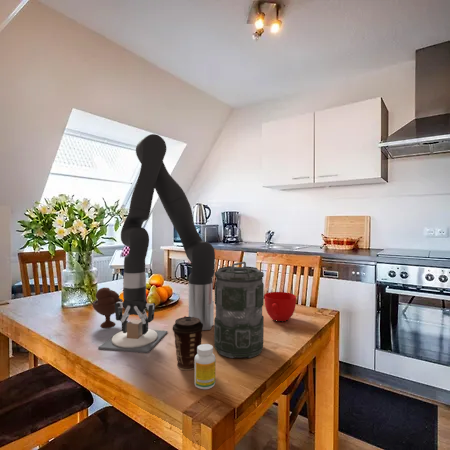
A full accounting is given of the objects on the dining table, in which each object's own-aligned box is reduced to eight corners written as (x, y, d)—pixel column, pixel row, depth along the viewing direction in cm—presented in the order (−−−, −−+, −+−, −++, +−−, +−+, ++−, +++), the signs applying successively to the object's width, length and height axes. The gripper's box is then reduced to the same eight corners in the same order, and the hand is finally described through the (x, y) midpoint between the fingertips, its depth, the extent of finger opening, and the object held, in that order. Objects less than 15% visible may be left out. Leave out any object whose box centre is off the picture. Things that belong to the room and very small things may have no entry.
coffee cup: (189, 355, 93) (189, 313, 93) (209, 363, 88) (209, 319, 88) (167, 365, 86) (167, 320, 86) (187, 375, 81) (187, 327, 81)
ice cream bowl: (113, 331, 112) (112, 291, 112) (86, 329, 114) (86, 289, 114) (127, 321, 123) (127, 284, 122) (103, 319, 125) (102, 283, 124)
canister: (231, 335, 109) (232, 257, 108) (271, 346, 100) (272, 261, 99) (204, 351, 96) (204, 263, 95) (247, 365, 87) (247, 268, 86)
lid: (163, 331, 110) (163, 316, 110) (146, 349, 96) (146, 331, 95) (125, 329, 113) (125, 313, 113) (102, 345, 98) (102, 328, 98)
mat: (167, 332, 111) (167, 330, 111) (148, 353, 94) (148, 351, 94) (124, 329, 114) (124, 327, 114) (98, 348, 97) (98, 347, 97)
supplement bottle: (191, 381, 78) (191, 344, 78) (210, 376, 81) (210, 341, 80) (198, 392, 74) (199, 353, 73) (218, 386, 76) (219, 349, 76)
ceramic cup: (256, 325, 119) (257, 299, 119) (269, 312, 135) (269, 290, 134) (289, 330, 114) (289, 304, 114) (298, 317, 129) (299, 293, 129)
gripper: (158, 283, 106) (158, 330, 107) (120, 281, 109) (121, 327, 109) (150, 288, 99) (150, 338, 99) (109, 286, 101) (109, 335, 102)
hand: (134, 332), depth 104 cm, fingers open, 6 cm apart
